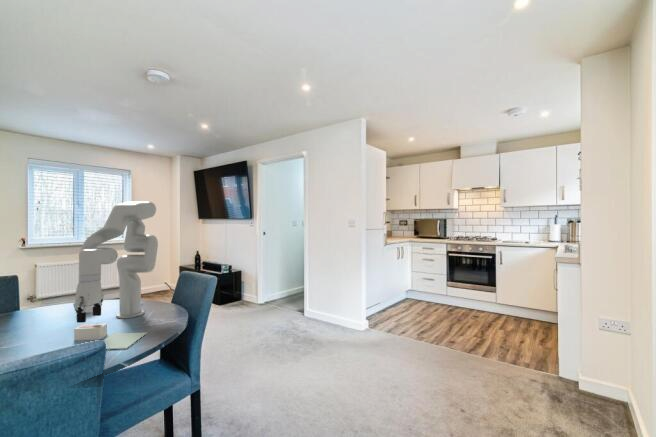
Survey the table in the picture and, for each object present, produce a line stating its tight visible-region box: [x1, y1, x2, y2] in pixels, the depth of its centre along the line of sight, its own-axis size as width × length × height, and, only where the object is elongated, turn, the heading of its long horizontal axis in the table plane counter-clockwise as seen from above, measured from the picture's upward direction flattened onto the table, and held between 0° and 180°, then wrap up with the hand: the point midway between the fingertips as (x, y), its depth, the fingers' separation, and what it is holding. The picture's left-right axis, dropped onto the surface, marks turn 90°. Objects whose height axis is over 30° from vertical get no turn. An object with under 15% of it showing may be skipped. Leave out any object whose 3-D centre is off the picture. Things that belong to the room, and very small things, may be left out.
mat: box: [103, 332, 148, 351], centre depth 129 cm, size 16×14×1 cm
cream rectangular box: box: [73, 323, 108, 341], centre depth 133 cm, size 5×10×5 cm, turn 96°
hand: (89, 318), depth 132 cm, fingers open, 9 cm apart
